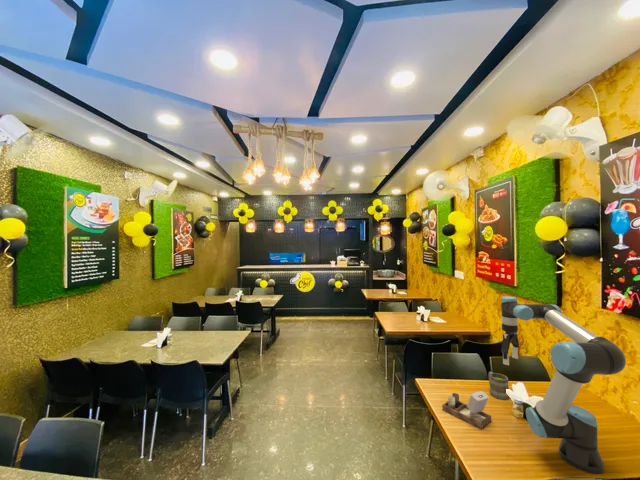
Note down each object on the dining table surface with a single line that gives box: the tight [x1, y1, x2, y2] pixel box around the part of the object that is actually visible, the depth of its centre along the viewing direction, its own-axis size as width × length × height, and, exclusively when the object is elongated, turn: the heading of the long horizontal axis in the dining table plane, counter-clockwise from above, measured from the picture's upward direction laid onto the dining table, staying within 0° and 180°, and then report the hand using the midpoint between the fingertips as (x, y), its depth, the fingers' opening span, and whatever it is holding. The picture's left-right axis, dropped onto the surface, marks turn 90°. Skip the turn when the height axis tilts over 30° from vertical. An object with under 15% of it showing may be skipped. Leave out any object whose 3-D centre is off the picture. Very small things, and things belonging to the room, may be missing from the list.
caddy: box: [441, 392, 492, 430], centre depth 157 cm, size 22×12×8 cm, turn 36°
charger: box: [467, 390, 489, 417], centre depth 152 cm, size 5×9×15 cm, turn 112°
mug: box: [488, 371, 510, 400], centre depth 180 cm, size 16×11×12 cm
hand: (510, 361), depth 156 cm, fingers open, 13 cm apart
